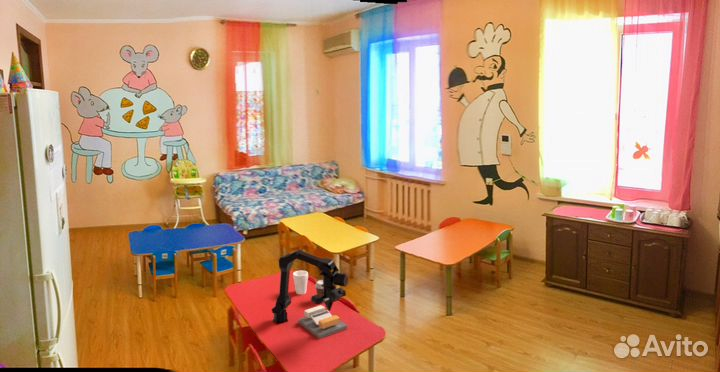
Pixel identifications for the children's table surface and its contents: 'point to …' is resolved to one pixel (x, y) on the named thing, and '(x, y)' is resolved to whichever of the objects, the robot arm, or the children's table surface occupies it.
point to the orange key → (329, 321)
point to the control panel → (320, 332)
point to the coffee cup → (319, 287)
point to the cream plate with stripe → (320, 316)
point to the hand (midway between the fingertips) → (329, 310)
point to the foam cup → (300, 281)
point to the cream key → (314, 311)
